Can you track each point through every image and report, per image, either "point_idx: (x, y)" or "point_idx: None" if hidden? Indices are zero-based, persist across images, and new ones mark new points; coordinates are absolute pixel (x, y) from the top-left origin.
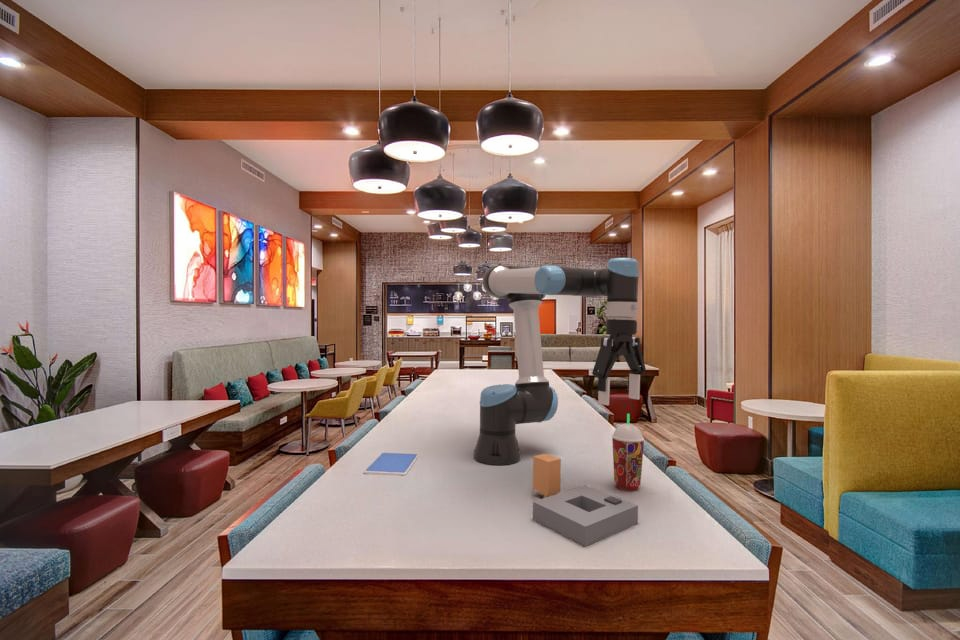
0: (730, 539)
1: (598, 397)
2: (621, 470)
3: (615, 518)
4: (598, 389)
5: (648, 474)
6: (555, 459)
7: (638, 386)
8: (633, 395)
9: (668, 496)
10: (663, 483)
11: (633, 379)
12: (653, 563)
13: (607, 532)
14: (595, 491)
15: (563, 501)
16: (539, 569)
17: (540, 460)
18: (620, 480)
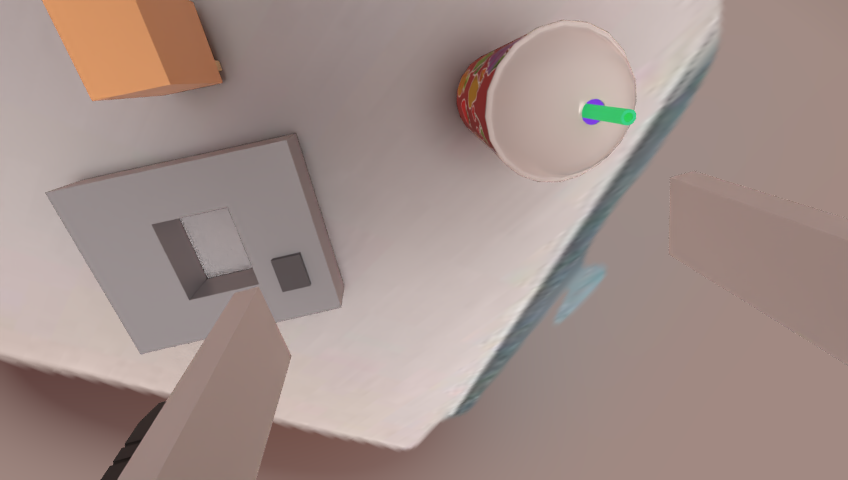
0: (461, 384)
1: (217, 323)
2: (466, 118)
3: None
4: (147, 420)
5: (651, 29)
6: (139, 84)
7: (765, 312)
8: (689, 228)
9: (539, 197)
10: None
11: (846, 297)
12: None
13: None
14: (287, 196)
15: (147, 224)
16: (29, 363)
17: (70, 46)
18: (460, 109)
